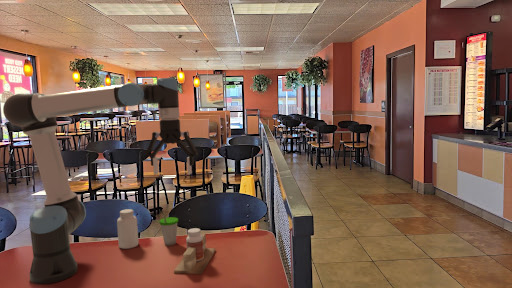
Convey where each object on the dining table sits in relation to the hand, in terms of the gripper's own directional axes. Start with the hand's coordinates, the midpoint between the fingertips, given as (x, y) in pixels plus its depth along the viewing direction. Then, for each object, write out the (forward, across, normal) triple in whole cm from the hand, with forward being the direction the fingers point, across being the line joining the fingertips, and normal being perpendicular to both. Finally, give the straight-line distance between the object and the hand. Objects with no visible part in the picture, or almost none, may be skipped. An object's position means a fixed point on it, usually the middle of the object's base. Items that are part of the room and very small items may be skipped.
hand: (172, 174), depth 150 cm
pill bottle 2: (+31, +10, -8) cm, 33 cm away
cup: (+32, -6, +8) cm, 33 cm away
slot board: (+32, +10, -8) cm, 34 cm away
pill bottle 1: (+32, -23, +5) cm, 40 cm away
